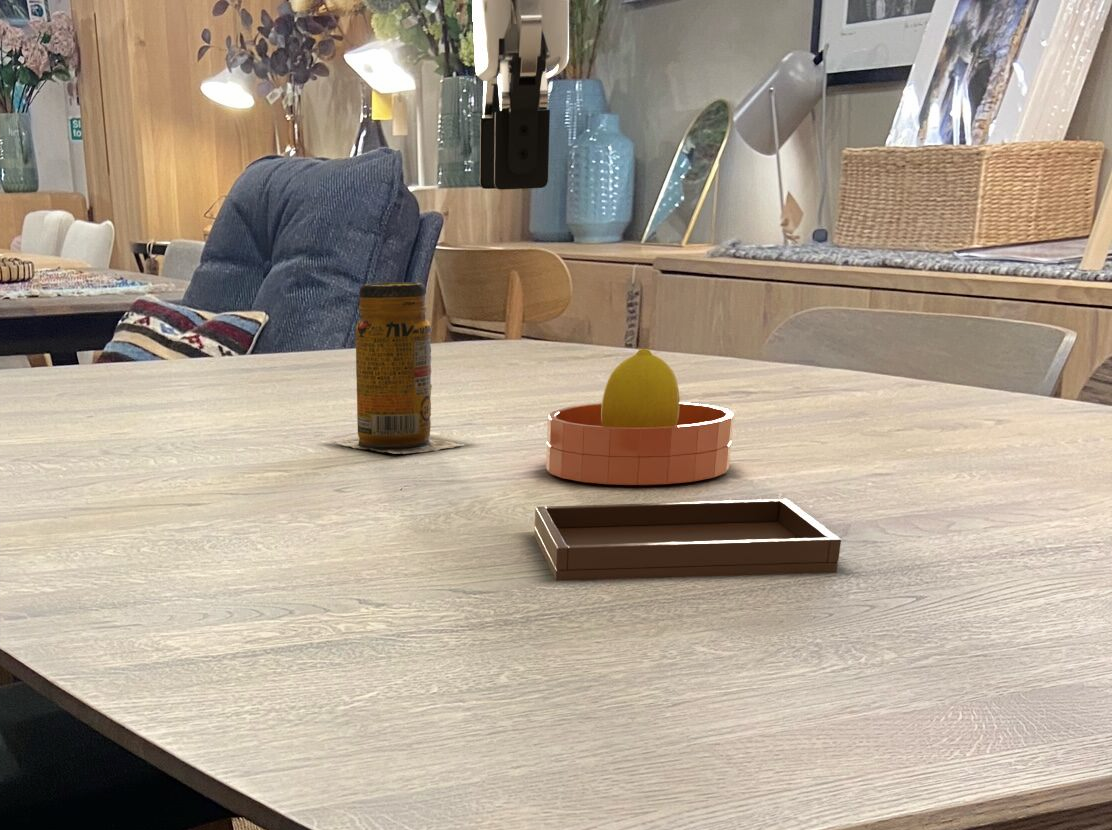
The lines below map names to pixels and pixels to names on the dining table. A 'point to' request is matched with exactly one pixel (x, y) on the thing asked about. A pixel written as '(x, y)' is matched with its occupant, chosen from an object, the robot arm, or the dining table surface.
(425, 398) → the condiment
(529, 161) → the robot arm
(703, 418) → the bowl
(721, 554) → the tray
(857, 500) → the dining table surface
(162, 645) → the dining table surface
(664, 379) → the lemon
